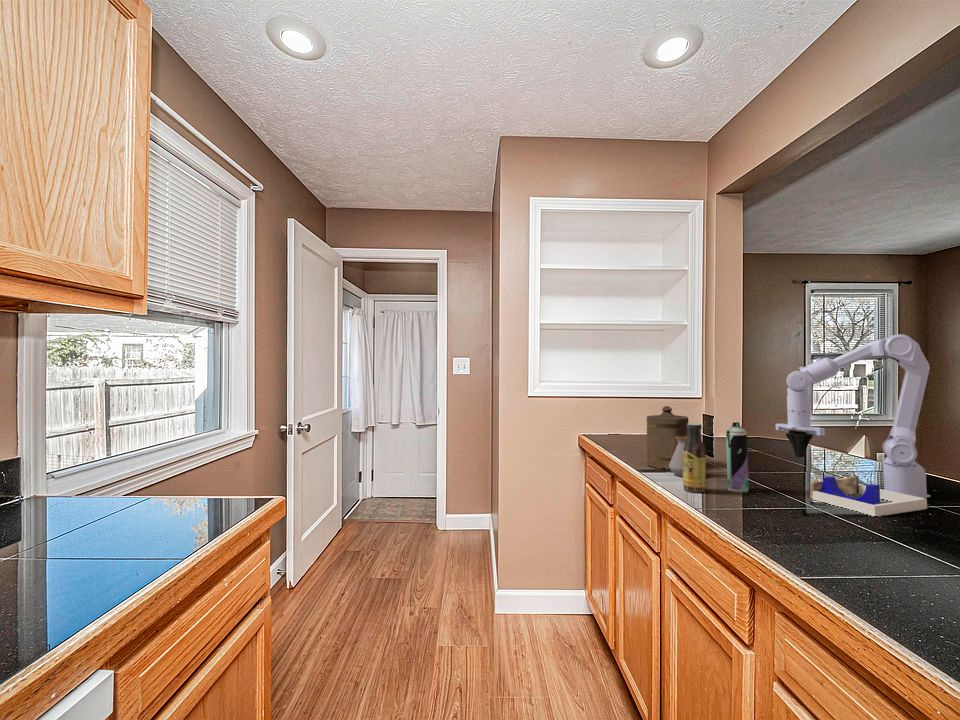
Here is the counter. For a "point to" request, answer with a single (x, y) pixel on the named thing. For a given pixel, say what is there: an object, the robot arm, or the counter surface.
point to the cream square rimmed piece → (896, 506)
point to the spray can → (737, 458)
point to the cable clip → (832, 488)
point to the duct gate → (843, 483)
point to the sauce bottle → (694, 460)
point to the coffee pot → (678, 457)
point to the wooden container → (664, 437)
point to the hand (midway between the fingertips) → (800, 456)
